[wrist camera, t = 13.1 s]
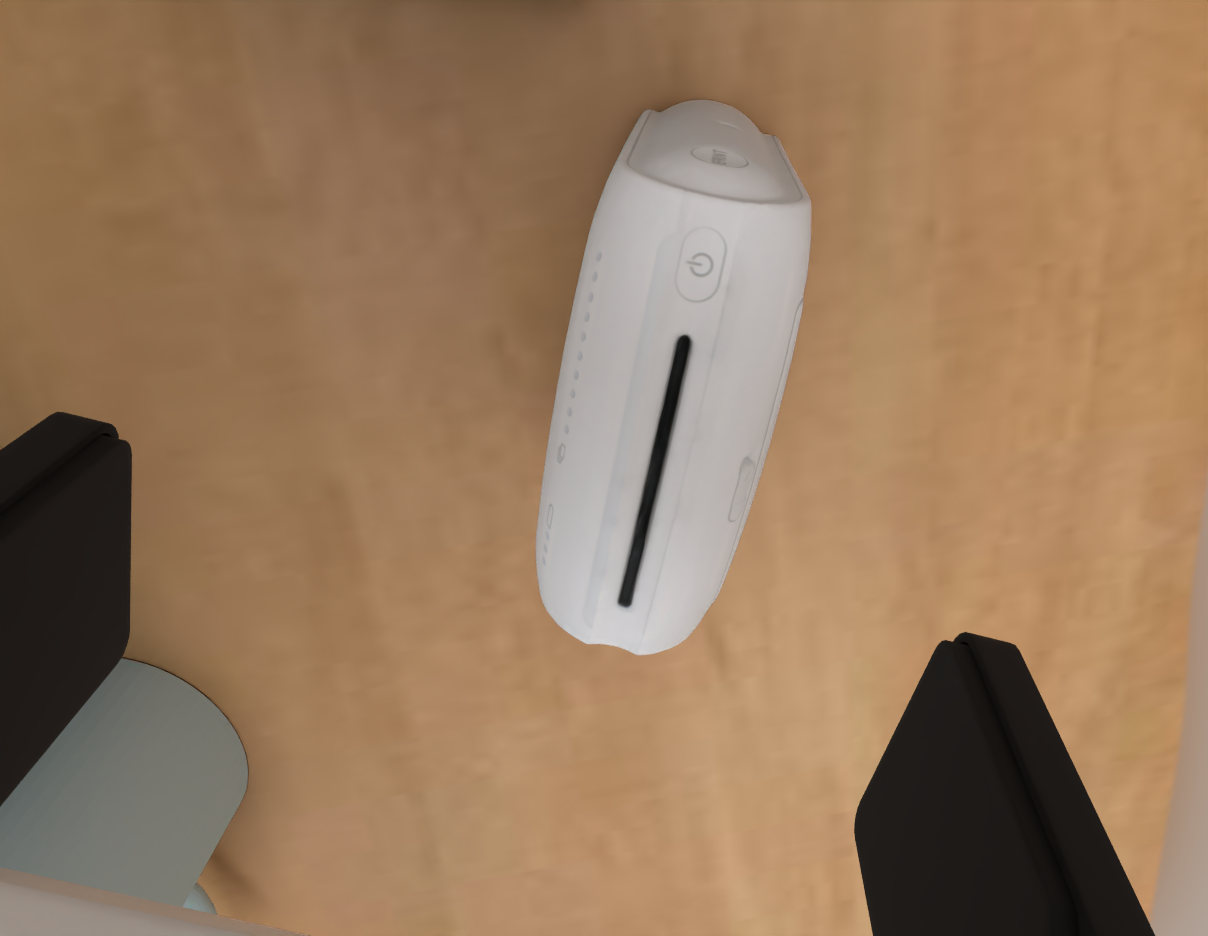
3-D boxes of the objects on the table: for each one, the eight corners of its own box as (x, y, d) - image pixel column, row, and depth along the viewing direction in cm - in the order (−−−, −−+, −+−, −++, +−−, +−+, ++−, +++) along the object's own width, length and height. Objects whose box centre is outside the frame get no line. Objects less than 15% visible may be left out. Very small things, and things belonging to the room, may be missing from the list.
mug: (-35, 699, 38) (-262, 921, 29) (154, 624, 35) (-31, 842, 26) (176, 934, 43) (37, 1185, 34) (354, 882, 40) (255, 1138, 31)
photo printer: (635, 78, 26) (584, 149, 15) (795, 111, 26) (863, 206, 15) (571, 428, 31) (495, 681, 20) (707, 456, 31) (708, 724, 20)
